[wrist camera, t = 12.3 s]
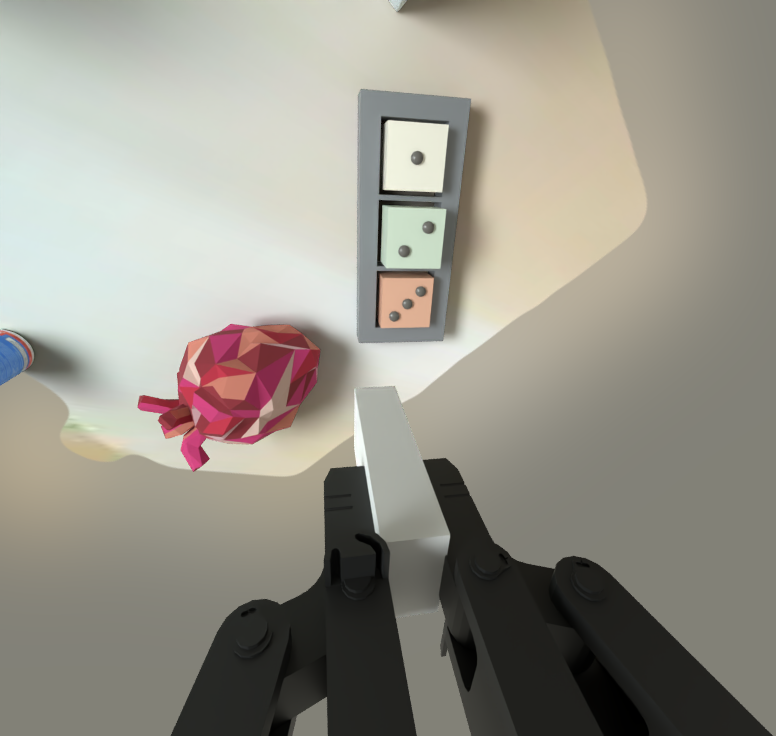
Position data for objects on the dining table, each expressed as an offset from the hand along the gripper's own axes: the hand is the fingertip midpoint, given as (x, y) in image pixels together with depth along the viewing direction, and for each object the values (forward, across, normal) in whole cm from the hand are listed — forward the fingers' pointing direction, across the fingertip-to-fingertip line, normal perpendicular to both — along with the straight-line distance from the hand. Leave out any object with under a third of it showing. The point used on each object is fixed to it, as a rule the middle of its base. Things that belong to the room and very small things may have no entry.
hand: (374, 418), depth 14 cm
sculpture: (+35, -12, -14) cm, 39 cm away
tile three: (+34, +8, -5) cm, 35 cm away
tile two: (+32, +8, +3) cm, 33 cm away
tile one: (+34, +8, +10) cm, 36 cm away
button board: (+34, +8, +3) cm, 35 cm away
